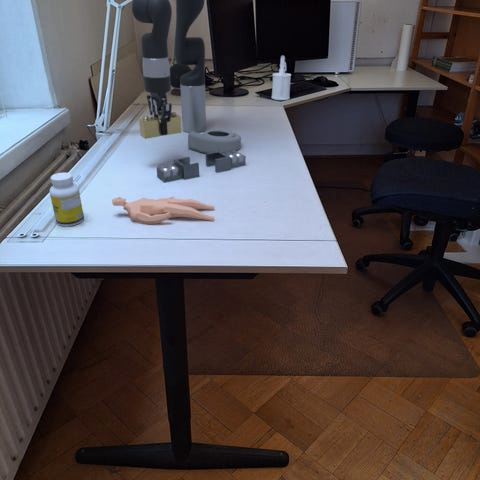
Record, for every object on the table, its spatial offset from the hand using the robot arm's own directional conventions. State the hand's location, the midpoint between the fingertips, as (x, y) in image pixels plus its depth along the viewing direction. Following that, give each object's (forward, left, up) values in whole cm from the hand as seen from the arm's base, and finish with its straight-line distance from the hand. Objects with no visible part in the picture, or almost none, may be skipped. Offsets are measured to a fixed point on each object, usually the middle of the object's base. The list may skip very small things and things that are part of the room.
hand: (161, 132), depth 135 cm
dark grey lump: (-92, +50, -11) cm, 106 cm away
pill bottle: (+24, -35, -11) cm, 43 cm away
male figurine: (+32, -14, -11) cm, 37 cm away
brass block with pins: (0, 0, 0) cm, 0 cm away
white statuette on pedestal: (-58, +89, -11) cm, 107 cm away
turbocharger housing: (-6, +23, -11) cm, 26 cm away
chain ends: (+11, +8, -10) cm, 17 cm away
